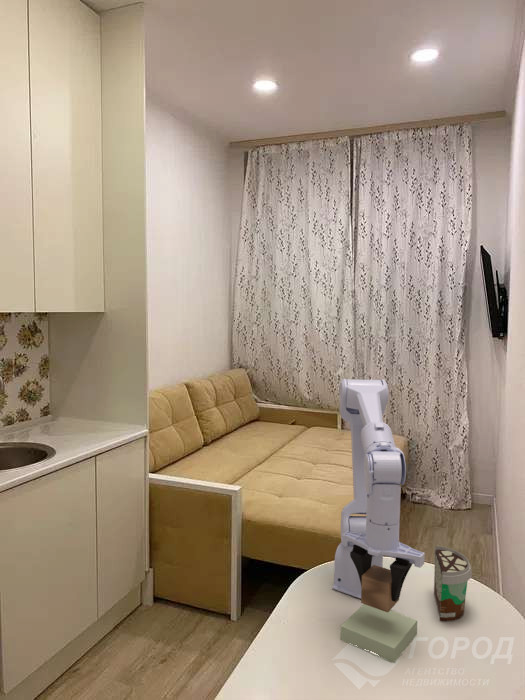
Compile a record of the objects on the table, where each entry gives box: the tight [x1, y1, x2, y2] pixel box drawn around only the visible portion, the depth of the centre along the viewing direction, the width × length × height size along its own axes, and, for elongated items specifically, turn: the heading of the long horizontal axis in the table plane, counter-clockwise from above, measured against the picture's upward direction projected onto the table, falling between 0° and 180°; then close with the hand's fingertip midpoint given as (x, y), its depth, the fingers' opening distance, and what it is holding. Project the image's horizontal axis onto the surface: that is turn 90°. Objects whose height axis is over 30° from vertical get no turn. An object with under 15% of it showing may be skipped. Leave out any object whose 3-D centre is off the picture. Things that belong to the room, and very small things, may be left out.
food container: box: [433, 545, 473, 622], centre depth 103 cm, size 12×6×10 cm, turn 168°
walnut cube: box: [360, 565, 400, 613], centre depth 94 cm, size 5×5×5 cm
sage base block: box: [340, 603, 418, 664], centre depth 94 cm, size 10×10×3 cm
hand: (380, 593), depth 94 cm, fingers closed on walnut cube, 5 cm apart
